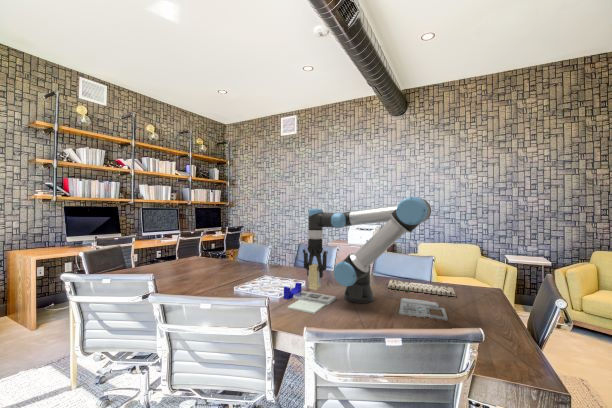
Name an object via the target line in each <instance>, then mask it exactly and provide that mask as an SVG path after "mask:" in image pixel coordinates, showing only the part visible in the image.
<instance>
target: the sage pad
mask: <svg viewBox="0 0 612 408" xmlns="http://www.w3.org/2000/svg"><path fill="white" fill-rule="evenodd" d="M325 306H326V305H325V304H321V303H315V302H310V301H304V300H298V299H297V300H296V301H295V302H293V303H291V304H289V305H288V306H287V307H286V308H287V309H288V310H293V311H298V312H304V313H307V314H312V315H315V314H316V313H318V312H319V311H321V310H322V309H323V308H324V307H325Z"/></svg>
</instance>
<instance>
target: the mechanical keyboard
mask: <svg viewBox="0 0 612 408" xmlns="http://www.w3.org/2000/svg"><path fill="white" fill-rule="evenodd" d="M387 285H388V286H387ZM387 288H388V289H391V290H395V291H396V290H397V291H399V292H398V293H401V292H400V291H403V292H404V291H405V292H408V293H407V294H410V293H409V292H414V293H424V294H430V295H438V296H437V297H442V296H448V297H447V298H450V297H455V296H456V297H457V295H456V292H455V290H454V288H453V287H449V286H441V285H440V286H439V285H433V284H426V283H420V282H419V283H418V282H407V281H401V280H397V279H390V280H389V282H387V284H386V289H387ZM403 292H402V293H403ZM430 295H429V296H430Z"/></svg>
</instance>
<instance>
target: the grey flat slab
mask: <svg viewBox="0 0 612 408" xmlns="http://www.w3.org/2000/svg"><path fill="white" fill-rule="evenodd" d="M399 305H400V306H399V309H398V315H399V314H401V315H400V316H405V315H409V316H408V317H412V316H416V317H415V318H420V317H424V318H423V319H426V318H425V317H429V318H428V319H433V318H436V319H435V320H441V319H442V321H448V315H447V312H446V310H445V308H444V307H440V306H439V303H437V302H436V301H433V300H422V299H414V298H406V297H405V298H400V303H399ZM431 309H435V310H434V311H439V310H441V313H442V315H436V314H431V312H430V311H431Z"/></svg>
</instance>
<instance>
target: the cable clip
mask: <svg viewBox="0 0 612 408" xmlns="http://www.w3.org/2000/svg"><path fill="white" fill-rule="evenodd" d="M302 287H303V286H302V283H301V282H295V286H294V287H292V288H291V287H288V286H284V287H283V299H284V300H290V299H293V295H295V294H297V293H299V292H301V291H302Z"/></svg>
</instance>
